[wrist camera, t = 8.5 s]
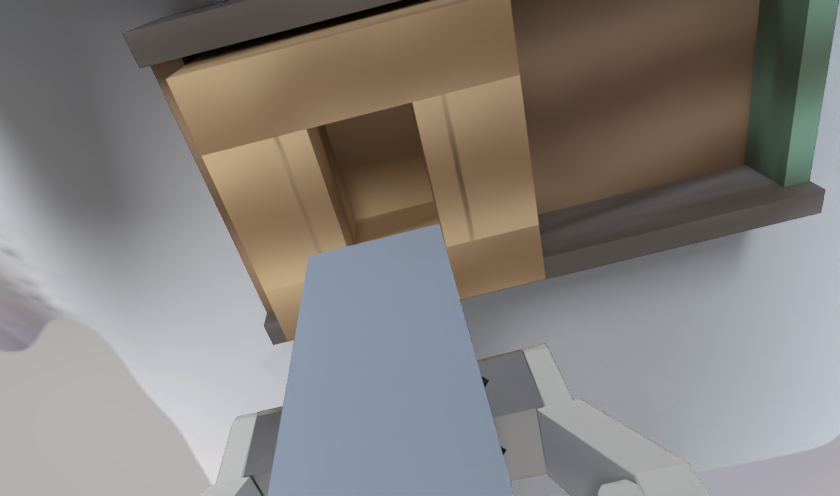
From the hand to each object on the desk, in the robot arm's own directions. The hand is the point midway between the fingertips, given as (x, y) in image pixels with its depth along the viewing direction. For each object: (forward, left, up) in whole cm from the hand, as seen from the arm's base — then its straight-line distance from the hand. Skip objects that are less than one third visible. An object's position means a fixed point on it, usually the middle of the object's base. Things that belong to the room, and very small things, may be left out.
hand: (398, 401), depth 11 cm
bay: (0, +6, -17) cm, 18 cm away
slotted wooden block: (0, 0, -16) cm, 16 cm away
